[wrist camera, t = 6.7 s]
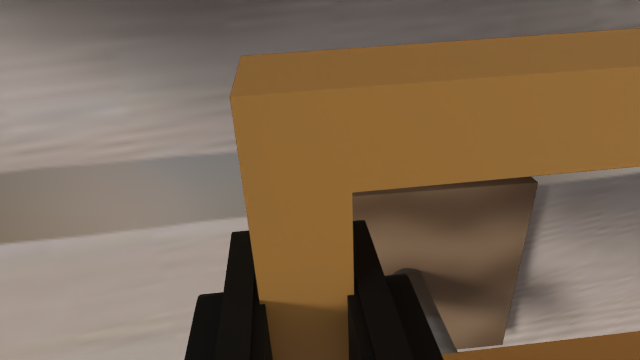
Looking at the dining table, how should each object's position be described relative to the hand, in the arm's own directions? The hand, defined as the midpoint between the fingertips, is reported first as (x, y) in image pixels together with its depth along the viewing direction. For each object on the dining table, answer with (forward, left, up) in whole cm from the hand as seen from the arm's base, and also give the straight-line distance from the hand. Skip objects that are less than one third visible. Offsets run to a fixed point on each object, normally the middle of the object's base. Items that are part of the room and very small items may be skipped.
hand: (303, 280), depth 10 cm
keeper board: (+13, +7, -17) cm, 23 cm away
